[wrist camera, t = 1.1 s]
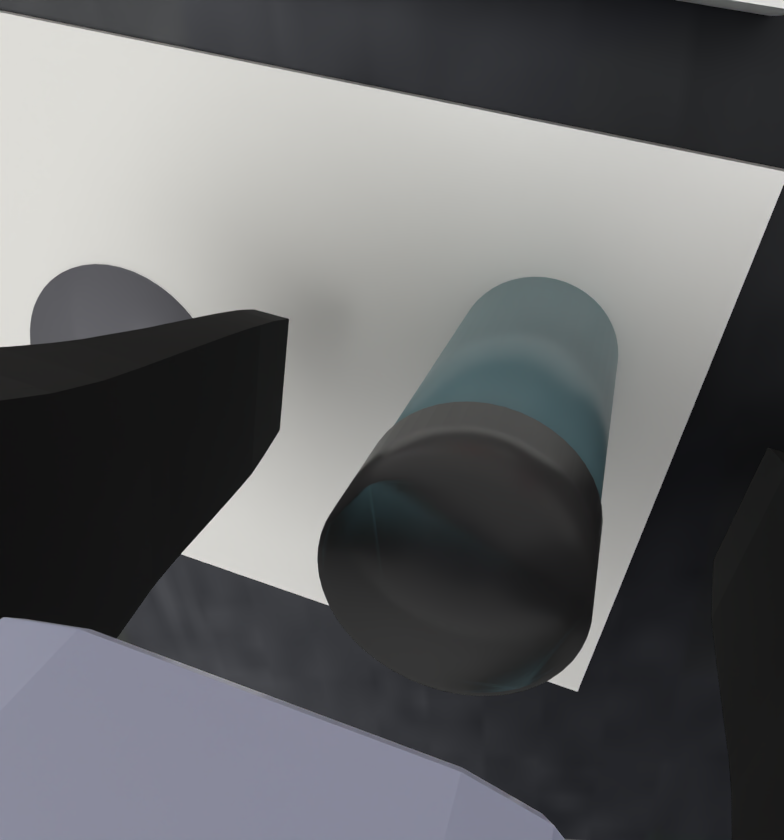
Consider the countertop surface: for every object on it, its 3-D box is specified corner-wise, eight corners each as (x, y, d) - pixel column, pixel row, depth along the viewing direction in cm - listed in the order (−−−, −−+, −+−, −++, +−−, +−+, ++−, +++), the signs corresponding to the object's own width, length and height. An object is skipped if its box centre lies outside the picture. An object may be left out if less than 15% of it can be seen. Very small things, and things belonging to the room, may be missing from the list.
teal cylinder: (643, 297, 13) (633, 523, 7) (593, 445, 15) (550, 731, 9) (473, 256, 14) (332, 432, 8) (442, 402, 15) (306, 642, 9)
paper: (785, 169, 12) (789, 172, 12) (578, 682, 18) (577, 694, 18) (-56, -2, 15) (-70, -2, 15) (11, 486, 21) (1, 493, 21)
